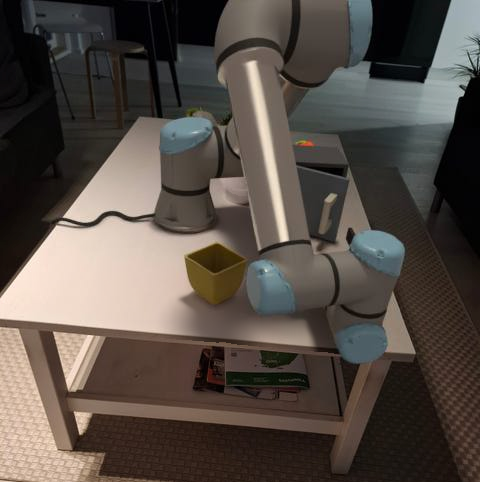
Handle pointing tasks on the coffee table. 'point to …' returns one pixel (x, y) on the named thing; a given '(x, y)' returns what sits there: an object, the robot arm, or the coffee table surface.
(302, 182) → the grey cabinet door
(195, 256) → the flower pot
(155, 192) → the coffee table surface
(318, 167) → the grey box
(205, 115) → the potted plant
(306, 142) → the clementine
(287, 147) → the robot arm
